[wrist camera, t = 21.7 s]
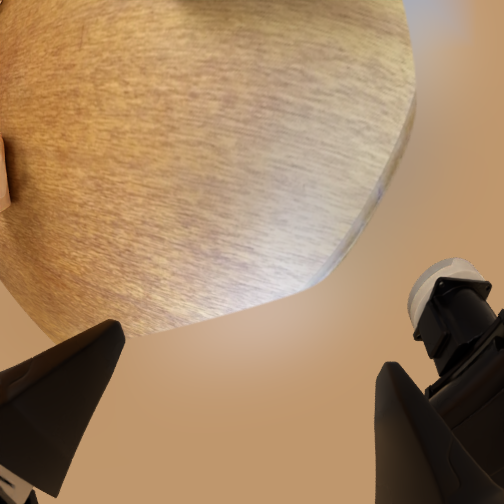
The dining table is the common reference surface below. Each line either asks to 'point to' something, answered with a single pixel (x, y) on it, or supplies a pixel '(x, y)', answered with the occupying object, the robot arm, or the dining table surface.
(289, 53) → the dining table surface
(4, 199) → the mug
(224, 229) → the dining table surface
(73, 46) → the dining table surface
